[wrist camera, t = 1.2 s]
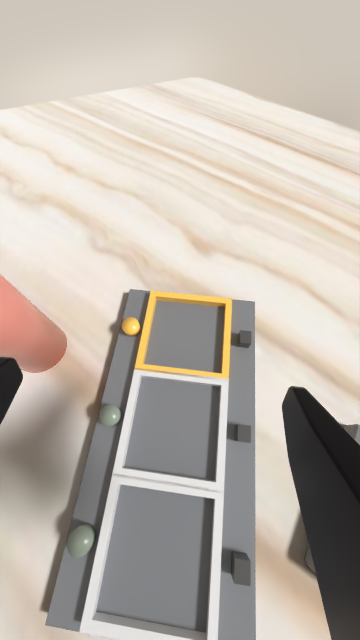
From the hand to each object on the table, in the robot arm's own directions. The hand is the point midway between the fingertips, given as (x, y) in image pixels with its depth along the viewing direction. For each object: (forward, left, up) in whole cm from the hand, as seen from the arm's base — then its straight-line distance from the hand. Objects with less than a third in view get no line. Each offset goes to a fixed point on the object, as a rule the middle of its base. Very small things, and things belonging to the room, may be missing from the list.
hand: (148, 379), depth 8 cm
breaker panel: (0, -1, -15) cm, 15 cm away
